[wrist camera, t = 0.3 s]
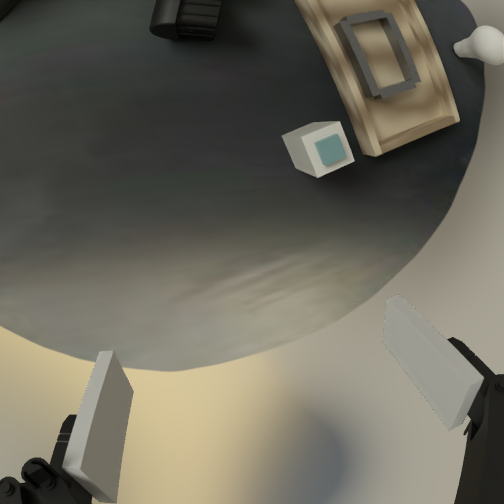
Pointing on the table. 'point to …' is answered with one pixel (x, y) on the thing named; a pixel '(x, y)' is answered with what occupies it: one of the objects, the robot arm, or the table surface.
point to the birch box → (384, 73)
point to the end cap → (186, 19)
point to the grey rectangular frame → (360, 61)
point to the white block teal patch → (318, 148)
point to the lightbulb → (483, 45)
